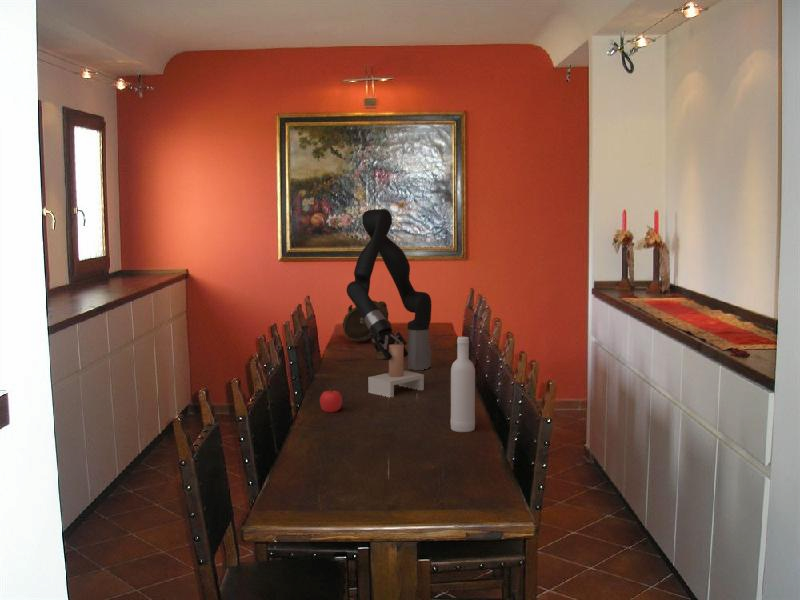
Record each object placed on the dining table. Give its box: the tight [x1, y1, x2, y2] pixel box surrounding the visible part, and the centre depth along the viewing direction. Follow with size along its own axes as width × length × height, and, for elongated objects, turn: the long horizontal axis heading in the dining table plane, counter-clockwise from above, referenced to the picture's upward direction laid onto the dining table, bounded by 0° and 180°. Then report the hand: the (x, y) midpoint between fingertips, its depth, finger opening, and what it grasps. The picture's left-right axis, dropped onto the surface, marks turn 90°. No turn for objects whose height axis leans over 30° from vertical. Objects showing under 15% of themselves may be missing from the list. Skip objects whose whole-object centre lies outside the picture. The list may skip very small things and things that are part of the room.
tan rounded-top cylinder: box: [388, 342, 405, 377], centre depth 341 cm, size 6×6×12 cm
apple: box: [319, 388, 343, 413], centre depth 312 cm, size 8×8×8 cm
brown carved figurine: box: [374, 324, 393, 361], centre depth 405 cm, size 9×14×18 cm, turn 0°
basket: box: [342, 300, 393, 342], centre depth 459 cm, size 24×22×35 cm
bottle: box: [450, 336, 476, 433], centre depth 286 cm, size 8×8×30 cm
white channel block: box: [367, 370, 425, 398], centre depth 342 cm, size 18×12×6 cm, turn 135°
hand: (398, 357), depth 339 cm, fingers open, 8 cm apart
